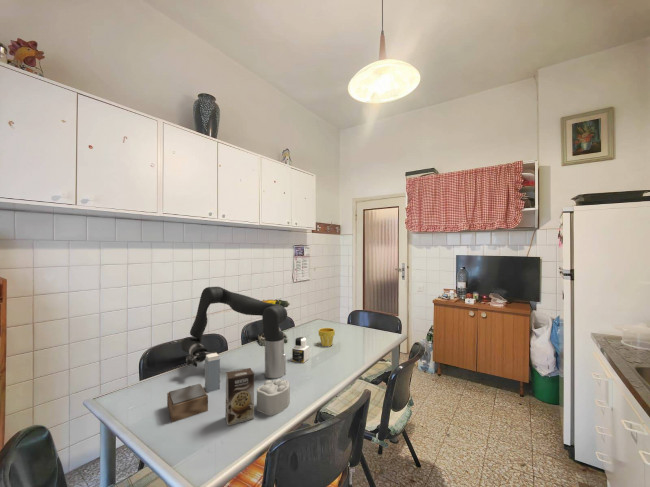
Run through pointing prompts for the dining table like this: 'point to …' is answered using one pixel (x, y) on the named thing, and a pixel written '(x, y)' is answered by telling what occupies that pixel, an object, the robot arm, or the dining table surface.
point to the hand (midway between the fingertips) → (206, 362)
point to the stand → (187, 402)
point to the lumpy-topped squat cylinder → (273, 397)
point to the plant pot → (326, 336)
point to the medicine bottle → (300, 350)
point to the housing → (212, 372)
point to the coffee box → (239, 396)
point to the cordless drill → (260, 336)
